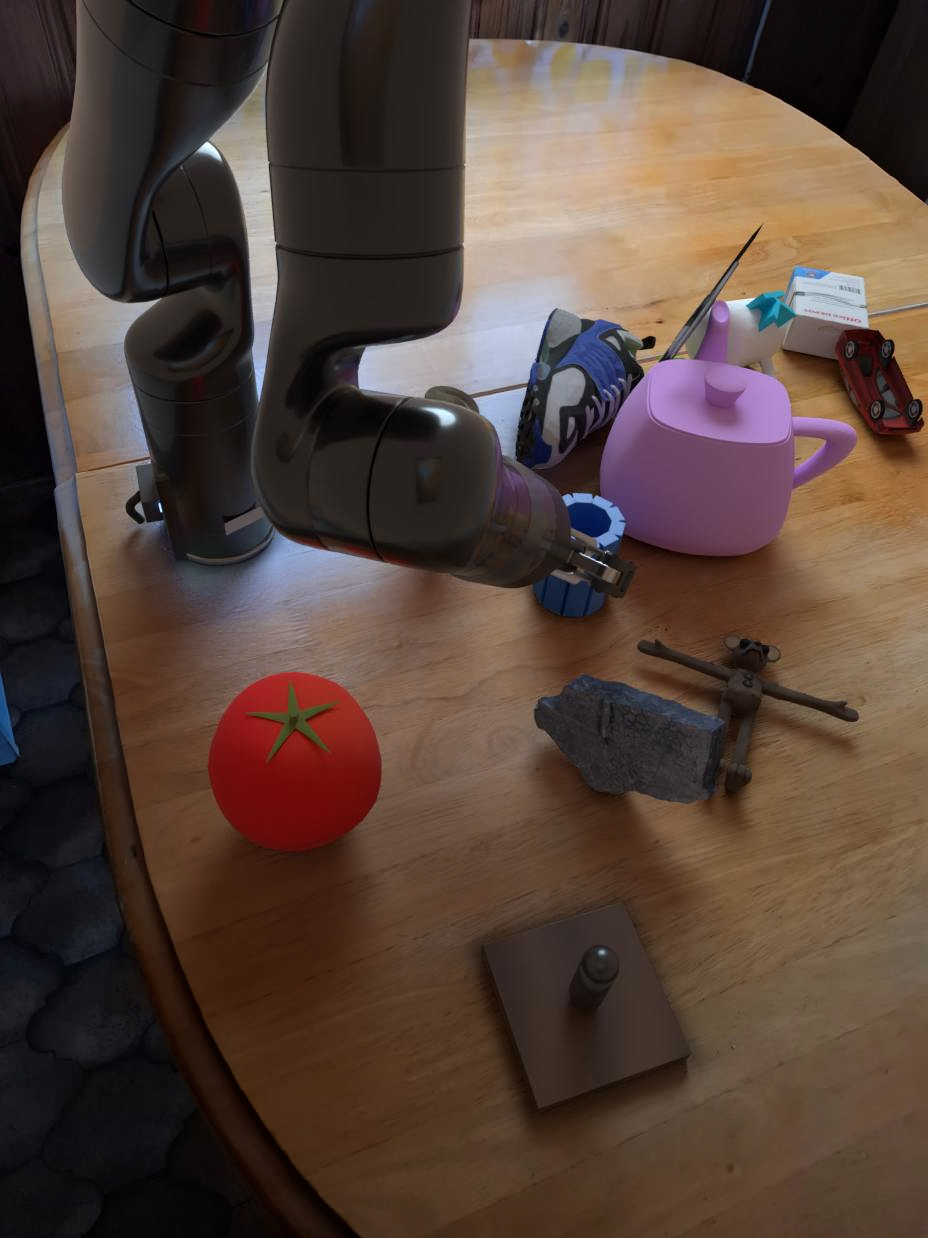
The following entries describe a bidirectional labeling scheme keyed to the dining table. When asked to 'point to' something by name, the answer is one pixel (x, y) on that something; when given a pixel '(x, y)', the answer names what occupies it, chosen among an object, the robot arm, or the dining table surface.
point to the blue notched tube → (608, 531)
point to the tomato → (294, 762)
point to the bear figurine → (745, 694)
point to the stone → (634, 740)
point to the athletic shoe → (575, 385)
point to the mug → (750, 331)
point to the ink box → (823, 310)
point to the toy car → (877, 382)
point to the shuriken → (704, 306)
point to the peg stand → (582, 1006)
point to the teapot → (711, 452)
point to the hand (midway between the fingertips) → (556, 546)
